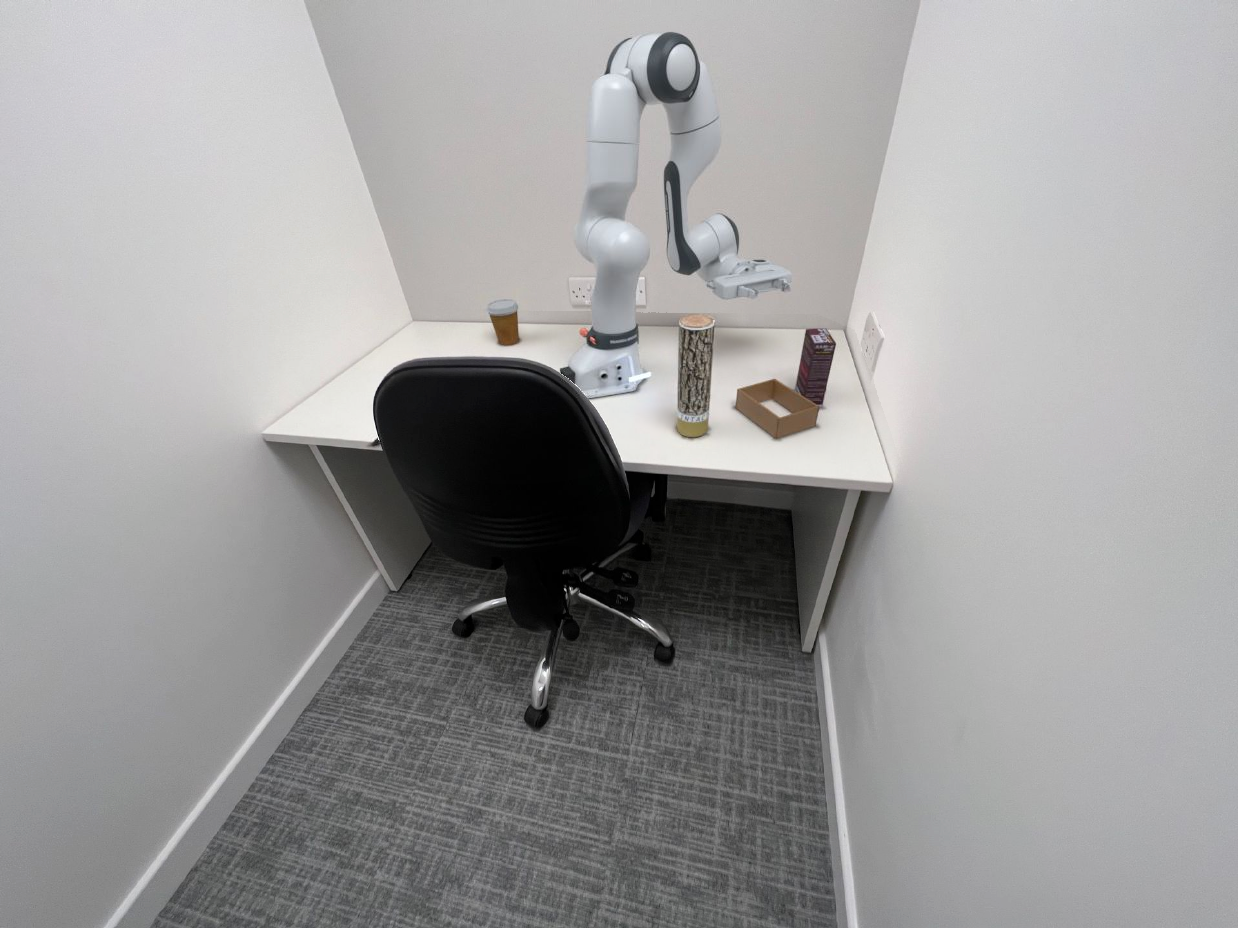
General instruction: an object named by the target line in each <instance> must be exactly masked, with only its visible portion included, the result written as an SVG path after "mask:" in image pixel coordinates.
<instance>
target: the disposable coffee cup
mask: <svg viewBox="0 0 1238 928" xmlns="http://www.w3.org/2000/svg"><path fill="white" fill-rule="evenodd" d="M486 306H487V307H486V312H487V314H488V315H489V319H490V322H491V324H492V327H493V330H494V332H495V335H496V338H497V341H498V344H499V345H501V346H512V345H515V344H517V343H519V341H520V335H519V333H520V332H519V317H518V316H519V314H518V309H519V305H518V304H517V301H516V300H514V299H510V298H503V299H496V300H493V301H490V302H488V304H487V305H486Z"/></svg>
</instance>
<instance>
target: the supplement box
mask: <svg viewBox="0 0 1238 928" xmlns="http://www.w3.org/2000/svg"><path fill="white" fill-rule="evenodd" d="M836 347H837V342H836V341H835V339H834V338H833V336H832V335H831V333H830V332H829V331H828V329H827V328H806V329H805V333H804V337H803V343H802V350H801V353H800V359H799V366H798V370H797V371H798V372H797V376H796V382H795V387H794V391H795V392H797V393H799V394H800V395H802V396H803V397H805V398H807V399H808V400H810V401H812V402H813V403H815V404H816V405H818V406H820V407H819V409H820V408H823V404H824V400H825V395H826V392H827V387H828V383H829V378H830V373H831V369H832V364H833V359H834V355H835V351H836Z"/></svg>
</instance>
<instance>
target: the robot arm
mask: <svg viewBox="0 0 1238 928" xmlns="http://www.w3.org/2000/svg"><path fill="white" fill-rule="evenodd" d="M698 56H699V55H698V53H697V50H696V48H695V46H694V45H693V43H692V42H691V40H690V39H689V38H688V37H687V36H685V35H684V34H681V33H679V32H676V31H675V32H674V31H667V32H664V33H654V32H648V33H642V34H639V35H636V36H633V37H628V38H624V39H623V40H621V41H620V42H619V43H618V44H616V46H615V47H614V48H613V49H612V51H611V52H610V55H609V56H608V59H607V62H606V68H605V72H604V74H603V75H602V76H600V77H598V78H597V79H596V80H595V81H594V82H593V84H592V86H591V88H590V93H589V99H588V104H587V105H588V106H587V113H586V114H587V115H586V124H585V125H586V126H585V170H584V171H585V173H584V174H585V175H584V177H585V179H584V189H583V190H584V191H583V197H582V202H581V207H580V213H579V218H578V220H577V221H576V224H575V225H574V228H573V234H572V238H573V243H574V246H575V247H576V249H577V251H578V252H579V253H580V255H581V256H582V258H584V259H585V260H586V261H588V262H590V263H592V264H593V265H594V269H595V280H594V286H593V290H592V292H591V293H590V295H589V302H590V312H591V324H592V325H591V327H590V329H589V330H588V329H587V328H586V327H581V328H580V329H579V335H580V336H582V338H586V339H585V340H586V343H584V344H583V345H582V346H581V347H580V348H579V350H577V351H576V352H575V353H574V354H573V355H572V356H571V357H570V358H569V359H568V361H567V362H568V363H567V366H564V367H560V368H559V374H560V373H561V374H563V375H564V376H566V377H567V378H569V380H571V381H572V382H573V383H574V384H576V385H577V386H578V387H579V388H580V389H581V391H583V393H585V395H586V396H587V398H588V399H593V398H600V397H606V396H607V397H608V396H612V395H618V394H624V393H632V392H635V391H636V390H637V388H638V385H639V384H641V382H642V381H644V379H646V378H649V377H651V375H652V372H650V371H649V372H644V368H643V367H642V362H641V358H640V351H639V344H640V331H639V323H637V288H638V284H639V278H640V275H641V272H642V271H643V270H644V269H645V267H646V266H647V264H648V262H649V259H650V255H651V254H650V253H651V248H650V247H651V246H650V243H649V240H648V238H647V237H646V235H645V234H644V232H642V231H641V230H640V229H639V228H638V227H637V226H636V225H635V224H633V223H631V222H629V221H626V214H627V209H628V205H629V202H630V200H631V197H632V195H633V194H634V192H635V191H636V190H637V189H636V188H637V186H638V176H639V175H638V174H639V156H640V154H639V153H640V139H641V137H640V136H641V131H640V130H641V119H642V115H643V112H644V110H645V108H646V105H648V106H653V105H662V106H663V108H664V110H665V113H666V118H667V124H668V131H669V136H670V150H669V151H670V152H669V157H668V158H669V159H668V161H667V163H666V165H665V167H664V170H663V193H664V194H663V195H664V208H665V209H664V211H665V224H666V235H667V237H666V238H667V239H666V257H667V261H668V264H669V266H670V268H671V269H672V270H673V271H674V272H675V273H677V274H680V275H683V276H692V274H695V273H696V274H697V275H698V277H699V278H700V279H701V280H703V281H704V283H705V282H706V285H705V286H706V287H707V288H708V289H711V290H712V293H713V294H714V295H715V296H717V297H718V298H719V299H720V300H727V301H728V300H733V299H738V298H749V299H751V300H754V299H758V297H759V294H763V293H768V292H772V291H777V290H778V291H779V290H780V292H783V293H788V292H791V290H792V279H793V272H792V271H791V270H789V269H787V268H784V267H782V266H780V265H778V264H777V265H776V264H772V263H771V261H770V260H768V259H749V258H744V257H743V258H742V257H739V256H738V254H739V249H740V234H739V233H740V232H739V230H738V227H737V224H736V223H735V222H734V221H733V220H732V219H731V218H730V217H728V216H727V215H725V214H723V213H715V214H713V215H711V216H709V217H708V218H706V219H704V220H702V221H700V222H699V223H697V224H695V225H694V226H691V227H690V228H689V221H688V196H689V194H690V192H691V191H690V190H691V189H692V187H693V186H694V184H695V183H696V181H697V180H698V179H699V178H700V176H701V175H702V174H703V173H704V172H705V170H707V169H708V167H710V165H711V164H712V163H713V162H714V160H715V158H716V157H717V155H718V154H719V150H720V148H721V146H722V124H721V116H720V111H719V104H718V100H717V94H716V90H715V86H714V84H713V79H712V76H711V74H710V71H709V68H708V66H707V65H706V63H704V62H703V61H702V60H699V57H698ZM380 442H381V441H379V440H378V437H376V438H375V439H374V440H373V442H372V443H371V447H376V446H378V445H379V443H380Z"/></svg>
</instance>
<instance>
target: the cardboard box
mask: <svg viewBox="0 0 1238 928" xmlns="http://www.w3.org/2000/svg"><path fill="white" fill-rule="evenodd" d="M768 400H773V401H775V402H776V403H777V404H779V405H781V406H782V407H784V408H785V409H787V410H788V411H790V412H791V413H790V414H787V415H783V416H779V415H777V414H776V413H775V412H773V411H771V410H770V409H769V408H767V407H766V406H764V405H763V404H761V402H764V401H768ZM819 407H820V406H818V405H816V404H815V403H813V402H812V401H810V400H808V399H807V398H805V397H803V396H802V395H800V394H799V393H797V392H795V389H792V388H791V387H789V386H788V385H786V384H784V383H783V382H781V381H779V380H778V379H776V378H771V379H768V380H765V381H761V382H757V383H754V384H750V385H747V386H743V387H740V388H737V389H736V398H735V409H736V410H737V411H738V412H740V413H742V414H743V415H744V416H745V417H747V418H748V419H749V420H750V421H752V422H753V423H754V424H756V425H757V426H758V427H760V428H761V429H762V430H764V431H765V432H766V433H767V434H769V435H770V436H772V437H773V439H776V440H778V439H780V438H784V437H787V436H790V435H793V434H796V433H799V432H801V431H802V432H803V431H805V430H808V429H811V428H814V427H816V426H817V420H818V416H819V412H820V408H819Z"/></svg>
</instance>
